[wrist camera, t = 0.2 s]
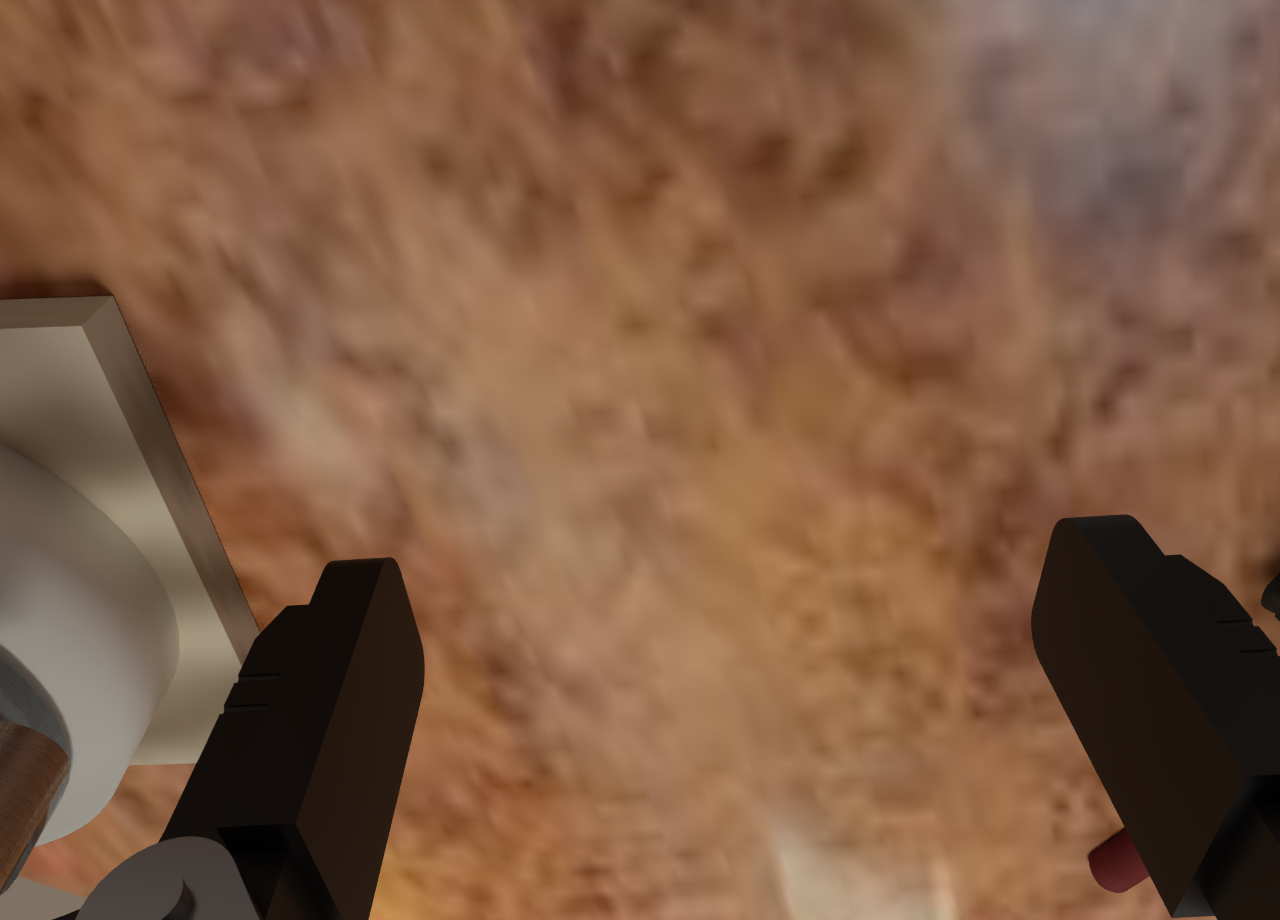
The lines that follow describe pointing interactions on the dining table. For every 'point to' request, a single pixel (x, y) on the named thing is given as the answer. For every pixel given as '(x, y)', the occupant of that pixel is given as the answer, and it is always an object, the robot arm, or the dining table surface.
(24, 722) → the cap with crank handle
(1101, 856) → the pliers
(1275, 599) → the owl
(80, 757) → the cap housing
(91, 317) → the base board
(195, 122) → the dining table surface
